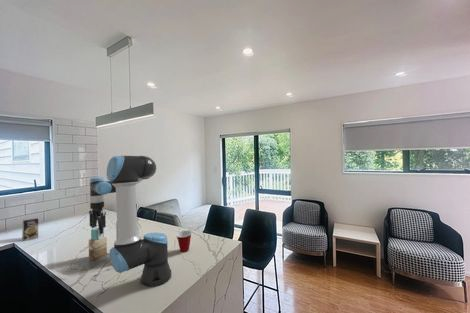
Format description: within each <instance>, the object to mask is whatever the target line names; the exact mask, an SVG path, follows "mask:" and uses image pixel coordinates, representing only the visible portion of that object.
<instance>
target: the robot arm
mask: <svg viewBox="0 0 470 313" xmlns="http://www.w3.org/2000/svg"><path fill="white" fill-rule="evenodd" d="M156 172H157V164H156V162H155V161H154V160H153V158H151V157H148V156H146V155H115V156H112V157H111V158H110V159H109V161H108V163H107V167H106V179H107V180H108V181H107V180H106V181H105V179H104V177H100V176H99V177H91V178H90V179H89V202H90V204H89V208H90V210H89V211H88V212H89V213H88V214H89V227H90V228H91V230H92V229H96V228H98V240H99V239H102V238H103V228H104V229H105V228H106V224H107V223H106V222H107V221H106V215H107V213H106V211H103V208H105V195H108V194H114V193H115V200H116V201H115V204H116V206H115V207H116V222H117V234H118V238H117V237H116V239H115V241H114V242H113V244H114V245H113V247H111V248H110V249H109V252H108V253H109V254H110V262H111V266H112V268H113V270H114V271H115V272H116V273H118V274H119V273H120V274H121V273H124V272H126V271H127V272H128V271H130V270H133V269H134V268H138V267H140V266H143V269H142V274H141V275H140V284H141V285H142V286H144V287H146V288H147V287H148V288H149V287H150V288H151V287H157V286H161V285H163V284H165V283H167V282H168V281H170V280H171V278H172V270H171V267H170V266H171V265H170V263H169V261H168V256H169V255H168V254H169V252H168V251H169V250H168V236H167V235H166V234H165V233H163V232H149V233H148V232H147V233H145V234H144V235H143V238H142V237H141V236H140V235H138V234H137V217H138V216H137V215H138V214H137V193H136V185H138V184H139V183H141V182H142V181H144V180H148V179H150V178H151V177H153V176H154V175H155V174H156Z"/></svg>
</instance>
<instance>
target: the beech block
mask: <svg viewBox="0 0 470 313" xmlns="http://www.w3.org/2000/svg"><path fill="white" fill-rule="evenodd" d="M107 242H108V240H107V237H106V236H104V238H102V239H99V240H92V239H91V238H90V239H88V251H89V250H93V251H97V250H100V249H102V248H105V247H107V248H108V245H107V244H108V243H107Z"/></svg>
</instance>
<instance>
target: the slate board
mask: <svg viewBox="0 0 470 313" xmlns="http://www.w3.org/2000/svg"><path fill="white" fill-rule="evenodd" d="M109 253H110V252H107V256H106V257H104V258H101V259H99V260H97V261H94V260H91V259H89V256H87V257H85V258H82V259H80V260H77V261H73V263H72V264H73V265H77V266H79V267H83V268H86V269H89V270H92V269H94V268H96V267H98V266H101V265H102V264H103V265H104V264H105V263H106V262H109V261H110V262H111V260H110V254H109Z"/></svg>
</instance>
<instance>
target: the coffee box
mask: <svg viewBox="0 0 470 313" xmlns="http://www.w3.org/2000/svg"><path fill="white" fill-rule="evenodd" d="M21 233H22V235H21V236H22V238H21V239H22V241H23V242H26V241H31V240H35V239H39V218H30V219H23V220H22V232H21Z"/></svg>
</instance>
